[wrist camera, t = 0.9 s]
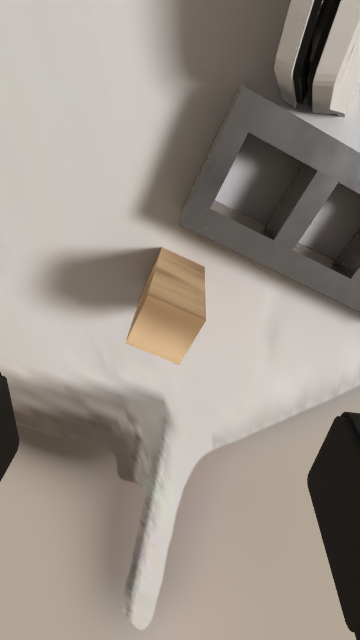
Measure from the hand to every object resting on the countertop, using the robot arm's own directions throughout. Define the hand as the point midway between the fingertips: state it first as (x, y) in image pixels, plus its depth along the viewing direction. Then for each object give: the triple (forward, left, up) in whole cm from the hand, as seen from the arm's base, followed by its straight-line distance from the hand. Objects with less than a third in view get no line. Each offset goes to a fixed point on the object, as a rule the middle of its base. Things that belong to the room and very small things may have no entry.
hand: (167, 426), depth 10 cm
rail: (+5, -11, -24) cm, 27 cm away
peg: (-6, -1, -24) cm, 25 cm away
